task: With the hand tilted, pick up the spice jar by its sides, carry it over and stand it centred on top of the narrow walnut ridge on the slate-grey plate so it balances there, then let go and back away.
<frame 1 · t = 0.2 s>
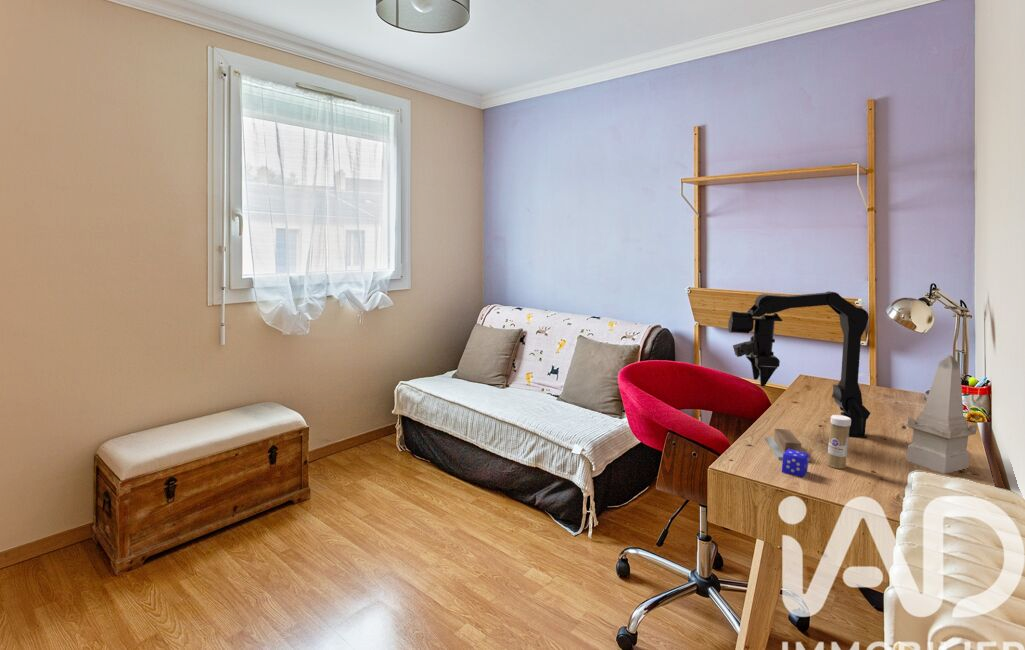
hand: (758, 382, 174), 15 cm above the table, tool pointing down, fingers open, 9 cm apart
ridge: (786, 450, 156), on the table
miniature monument: (936, 465, 147), on the table
die: (794, 472, 141), on the table
spice jar: (836, 466, 145), on the table
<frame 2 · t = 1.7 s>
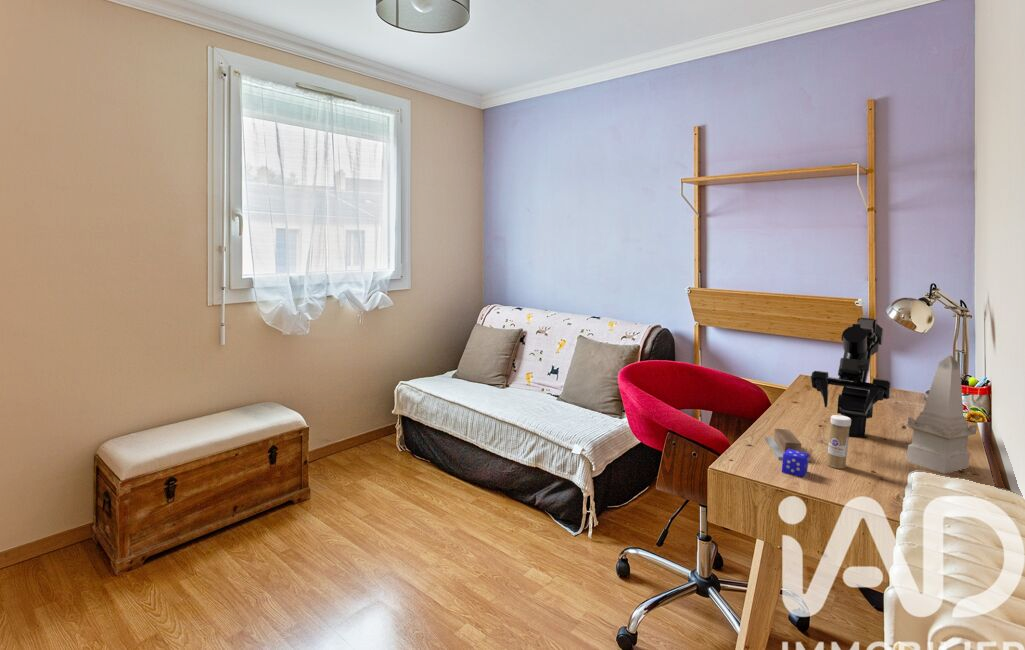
hand: (844, 409, 150), 13 cm above the table, tool tilted 45°, fingers open, 9 cm apart
nothing on the table moved.
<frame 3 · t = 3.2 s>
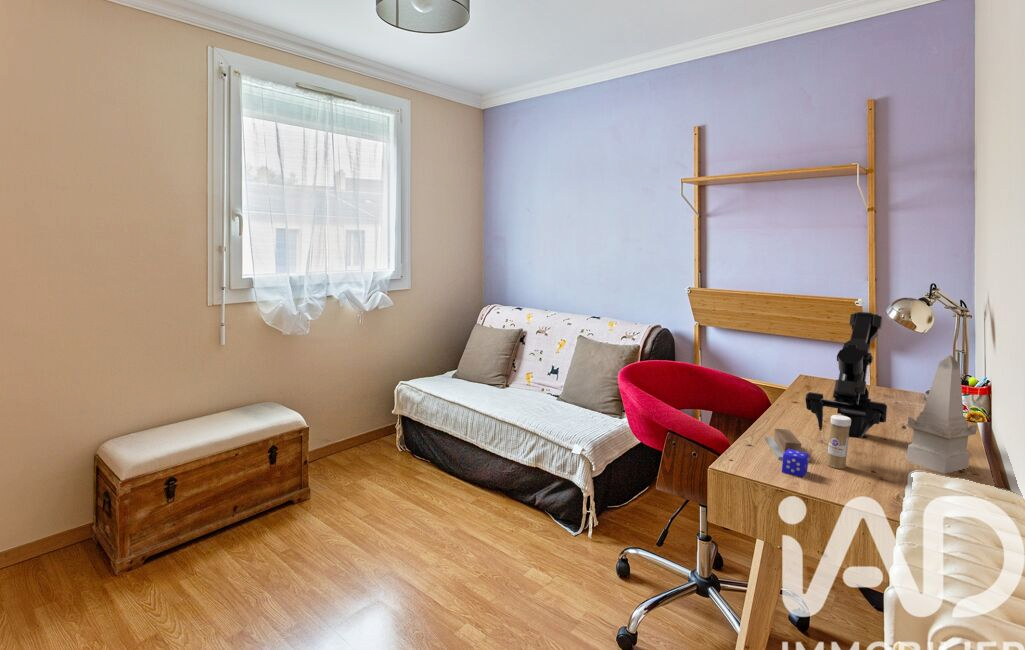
hand: (839, 433, 145), 9 cm above the table, tool tilted 45°, fingers open, 9 cm apart
nothing on the table moved.
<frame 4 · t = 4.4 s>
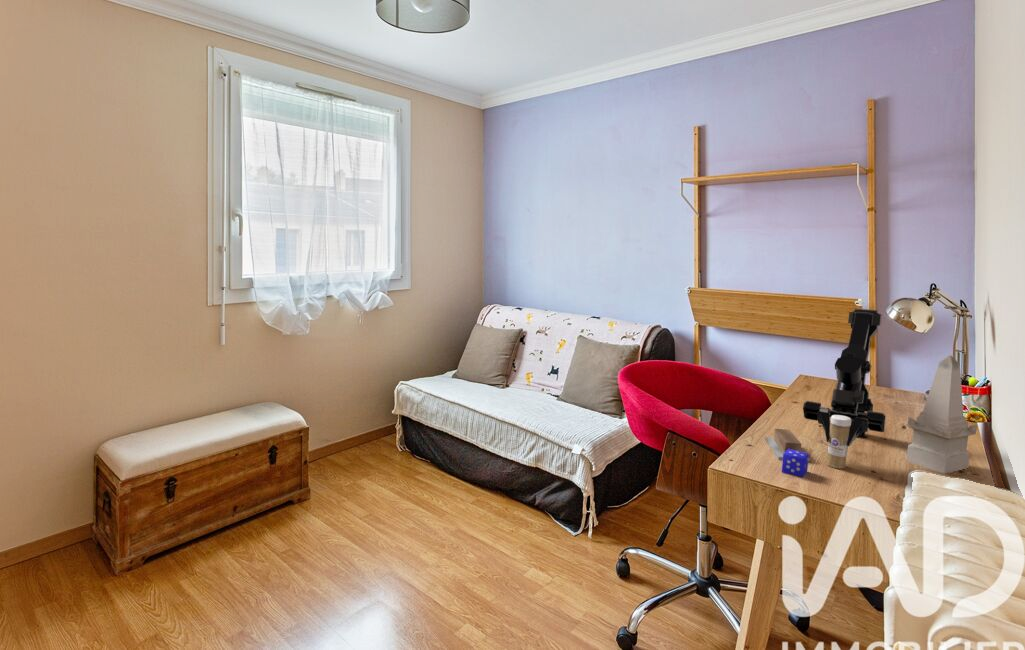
hand: (837, 443, 143), 7 cm above the table, tool tilted 45°, fingers closed on spice jar, 4 cm apart
spice jar: (836, 466, 145), on the table, touching gripper
everything else where it was.
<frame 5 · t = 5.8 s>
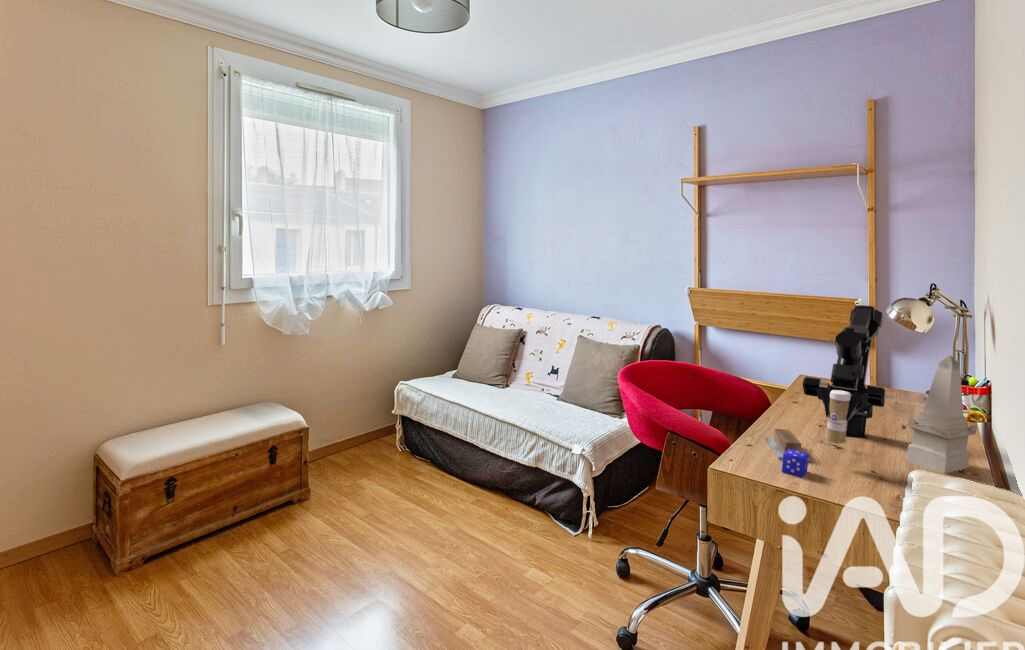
hand: (837, 418, 143), 13 cm above the table, tool tilted 45°, fingers closed on spice jar, 4 cm apart
spice jar: (835, 441, 145), point 6 cm above the table, touching gripper
everything else where it was.
when the fingers open (12 cm above the table, at t = 7.1 s): spice jar stays where it is, resting on ridge.
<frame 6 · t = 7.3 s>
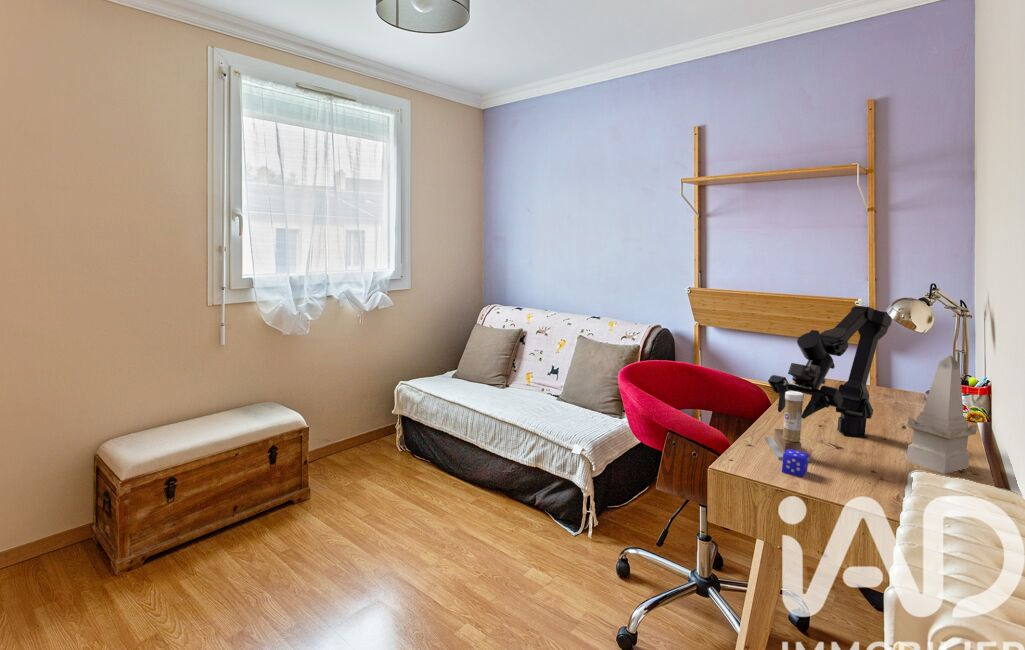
hand: (790, 414, 150), 12 cm above the table, tool tilted 45°, fingers open, 6 cm apart
spice jar: (791, 440, 152), point 4 cm above the table, touching ridge
everything else where it was.
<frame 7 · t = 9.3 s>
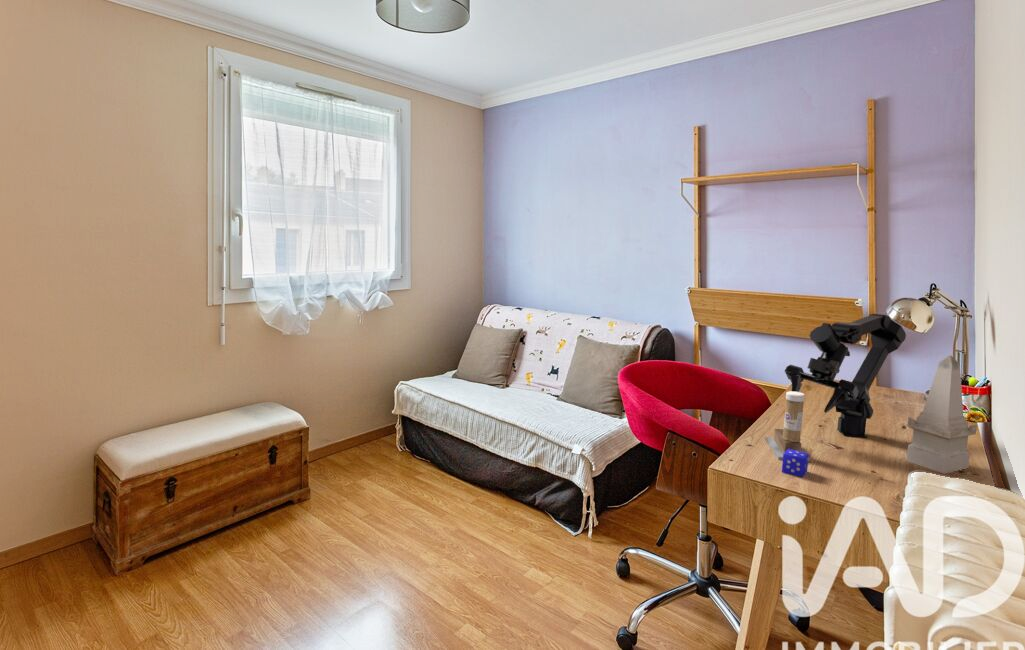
hand: (808, 406, 157), 12 cm above the table, tool tilted 35°, fingers open, 9 cm apart
nothing on the table moved.
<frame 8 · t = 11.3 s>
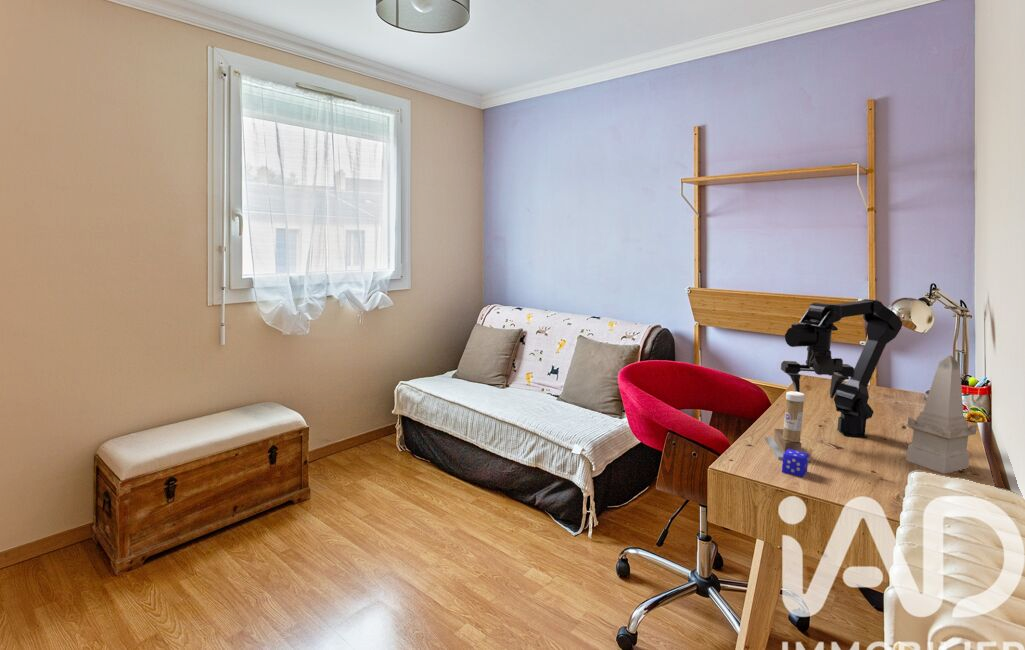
hand: (814, 396, 164), 13 cm above the table, tool pointing down, fingers open, 9 cm apart
nothing on the table moved.
at the end: spice jar inside the target area on the ridge (3.4 cm from its centre), point 4.1 cm above the ridge's base; spice jar tilted 0°; the gripper is holding nothing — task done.
